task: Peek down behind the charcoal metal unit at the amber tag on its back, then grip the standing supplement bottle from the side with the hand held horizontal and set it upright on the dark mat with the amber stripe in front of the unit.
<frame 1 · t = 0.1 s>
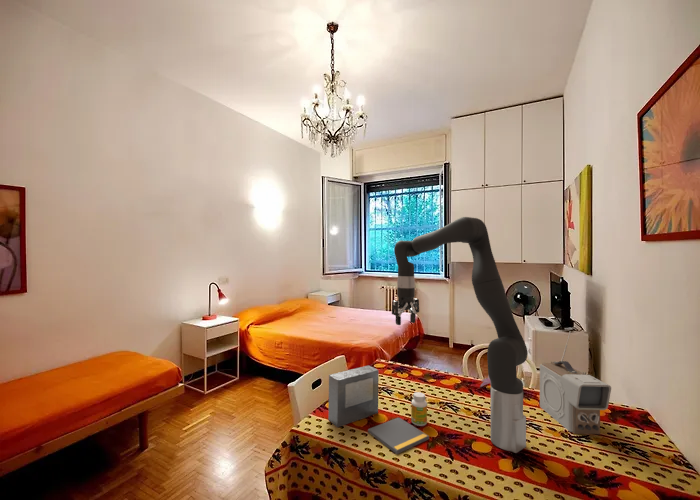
hand: (405, 323, 137), 29 cm above the table, tool pointing down, fingers open, 8 cm apart
lily: (493, 390, 140), on the table
metal unit: (353, 416, 116), on the table
supplement bottle: (419, 422, 112), on the table
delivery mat: (397, 435, 104), on the table
portable television: (572, 421, 114), on the table
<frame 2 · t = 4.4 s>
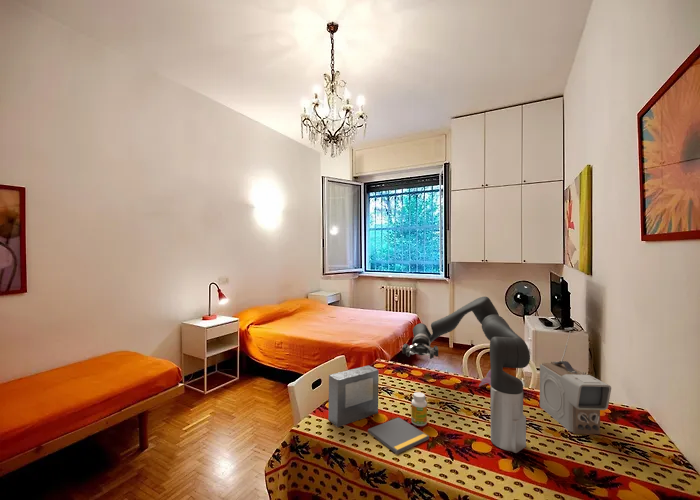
hand: (419, 355, 123), 20 cm above the table, tool horizontal, fingers open, 8 cm apart
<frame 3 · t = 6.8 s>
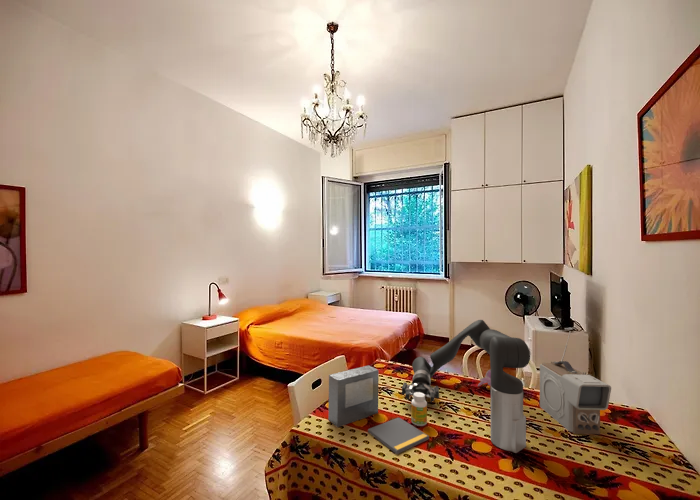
hand: (419, 398, 118), 5 cm above the table, tool horizontal, fingers open, 8 cm apart
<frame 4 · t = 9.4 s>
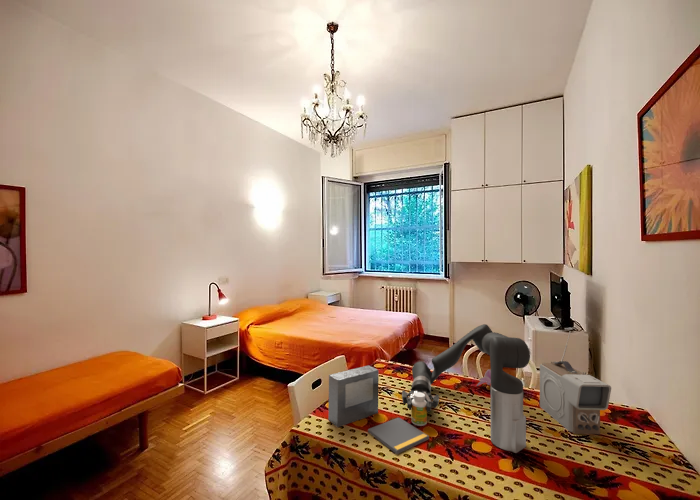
hand: (418, 408, 110), 6 cm above the table, tool horizontal, fingers closed on supplement bottle, 5 cm apart
supplement bottle: (419, 422, 112), on the table, touching gripper
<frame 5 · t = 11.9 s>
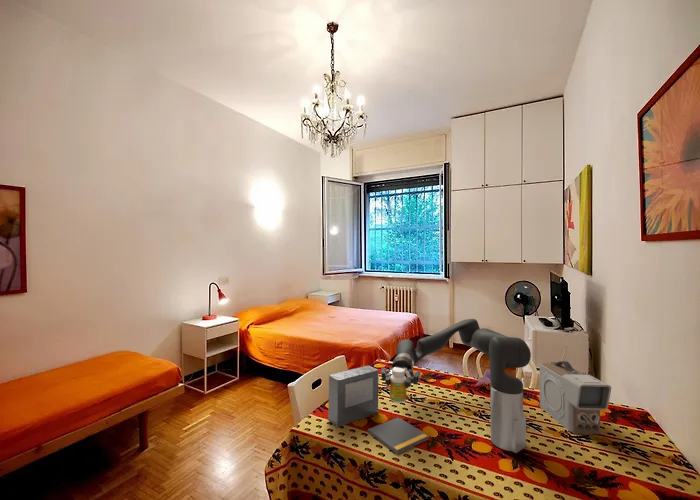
hand: (397, 384, 102), 18 cm above the table, tool horizontal, fingers closed on supplement bottle, 5 cm apart
supplement bottle: (398, 400, 104), point 11 cm above the table, touching gripper
when the fingers open (8 cm above the table, at t = 14.6 s): supplement bottle drops 1 cm, resting on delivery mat.
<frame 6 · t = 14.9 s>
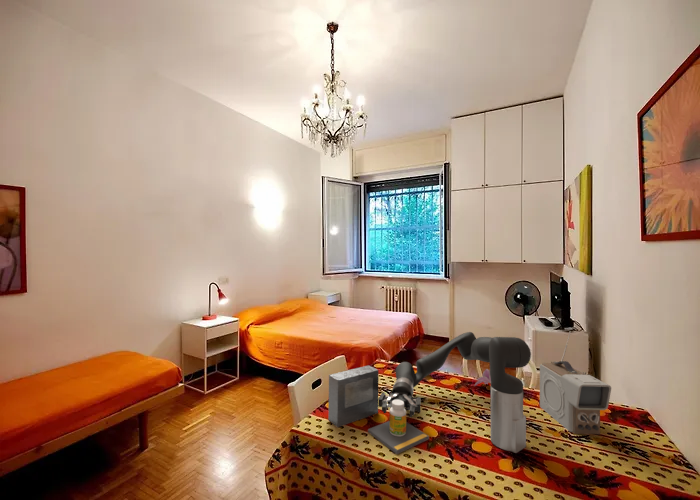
hand: (397, 412, 102), 9 cm above the table, tool horizontal, fingers open, 8 cm apart
supplement bottle: (397, 432, 104), point 1 cm above the table, touching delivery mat
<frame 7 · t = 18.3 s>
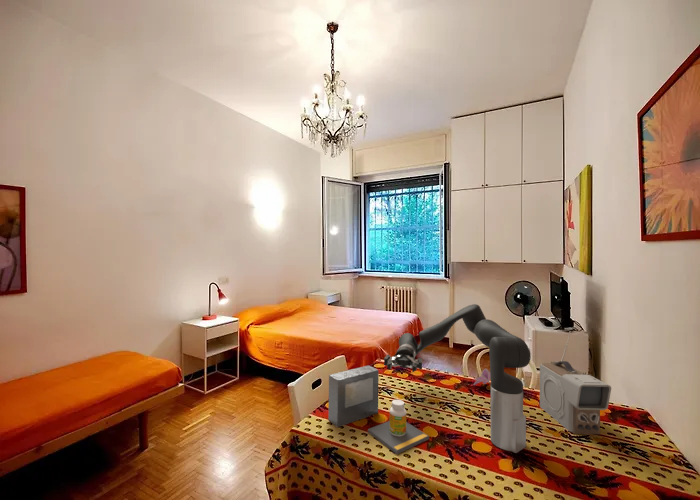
hand: (401, 367, 115), 18 cm above the table, tool horizontal, fingers open, 8 cm apart
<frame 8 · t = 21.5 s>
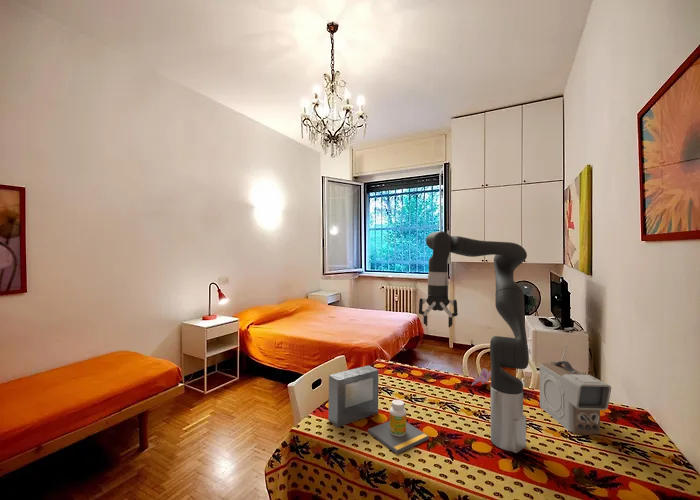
hand: (437, 326, 121), 32 cm above the table, tool pointing down, fingers open, 8 cm apart
at the end: supplement bottle inside the target area on the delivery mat (0.1 cm from its centre), point 0.8 cm above the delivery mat's base; supplement bottle tilted 0°; the gripper is holding nothing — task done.
